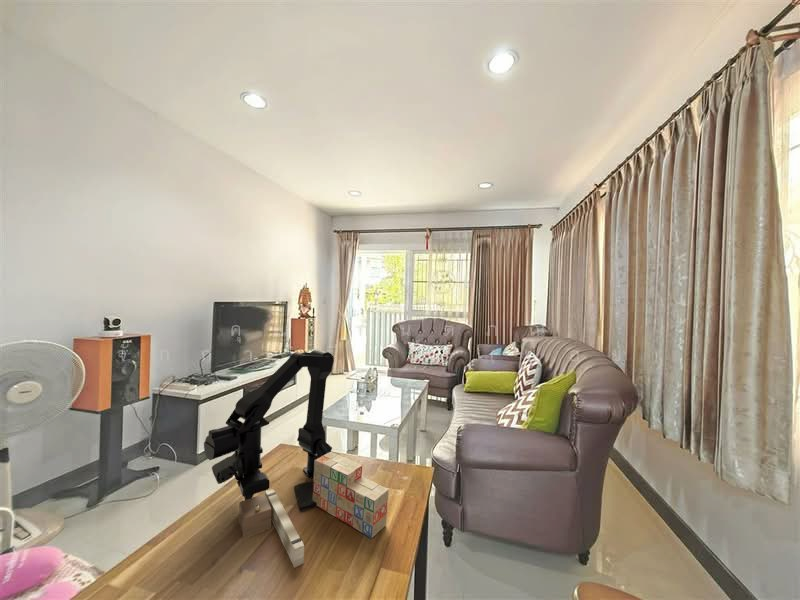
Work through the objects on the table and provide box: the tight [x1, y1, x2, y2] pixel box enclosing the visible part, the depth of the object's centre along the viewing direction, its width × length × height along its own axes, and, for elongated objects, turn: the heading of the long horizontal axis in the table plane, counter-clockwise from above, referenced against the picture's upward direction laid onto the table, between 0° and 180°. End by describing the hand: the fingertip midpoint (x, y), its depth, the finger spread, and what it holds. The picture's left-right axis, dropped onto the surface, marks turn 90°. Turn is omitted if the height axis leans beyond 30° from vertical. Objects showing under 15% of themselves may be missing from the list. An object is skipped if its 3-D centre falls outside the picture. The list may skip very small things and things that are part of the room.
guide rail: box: [264, 488, 305, 568], centre depth 77 cm, size 24×2×4 cm, turn 37°
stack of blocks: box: [312, 451, 390, 539], centre depth 84 cm, size 21×6×12 cm, turn 57°
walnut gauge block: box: [238, 493, 272, 539], centre depth 79 cm, size 7×6×6 cm
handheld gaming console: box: [293, 478, 318, 512], centre depth 91 cm, size 12×7×10 cm
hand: (247, 501), depth 85 cm, fingers closed
